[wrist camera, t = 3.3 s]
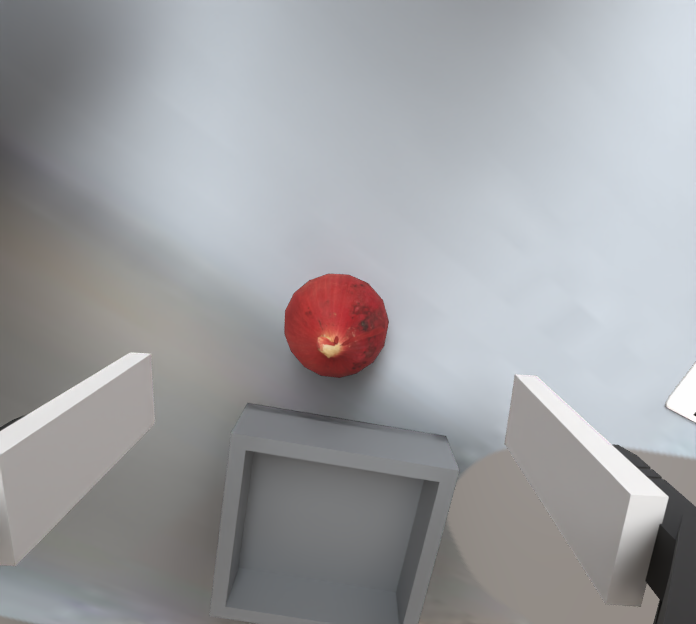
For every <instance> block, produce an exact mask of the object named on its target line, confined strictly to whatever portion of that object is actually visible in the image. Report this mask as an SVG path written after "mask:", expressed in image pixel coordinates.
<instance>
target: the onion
mask: <svg viewBox="0 0 696 624" xmlns="http://www.w3.org/2000/svg"><path fill="white" fill-rule="evenodd" d="M388 323H389V321H388V317H387V313H386V310H385V306H384V303H383V300H382V299H381V298H380V296H379V295H378V294H377V293H376V292H375V291H374V289H373V288H372V287H371V286H370V285H369V284H368V283H366V282H364V281H362V280H359V279H357V278H355V277H353V276H351V275H344V274H326V275H323V276H321V277H318V278H315V279H312V280H309V281H308V282H307V283H306V284H304V285H303V286H302V287H301V288H300V289H298V290H297V291H296V292H295V293H294V294H293V296H292V298H291V300H290V302H289V304H288V306H287V308H286V310H285V336H286V339H287V342H288V344H289V347H290V350H291V352H292V353H293V354H294V355H295V356H296V358H297V359H298V360H299V361H300V362H301V363H302V365H303V366H304V367H306V368H307V369H309V370H311V371H313V372H315V373H317V374H319V375H321V376H328V377H338V378H340V377H344V376H348V375H352V374H356V373H358V372H359V371H361V370H362V369H363V368H365V367H366V366H368V365H369V364H371V363H373V362H374V360H375V359H376V357H377V356H378V354H379V353H380V351H381V350H382V348H383V347H384V344H385V339H386V334H387V328H388Z"/></svg>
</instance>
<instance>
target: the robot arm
mask: <svg viewBox="0 0 696 624" xmlns="http://www.w3.org/2000/svg"><path fill="white" fill-rule="evenodd" d="M154 424H155V410H154V393H153V376H152V359H151V354H147V353H129V354H127V355H125V356H124V357H122V358H120V359H119V360H117V361H115V362H114V363H112V364H110V365H109V366H107V367H106V368H104V369H102V370H101V371H99V372H97V373H96V374H94V375H92V376H91V377H89V378H87V379H86V380H84V381H82V382H81V383H79V384H77V385H76V386H74V387H72V388H71V389H69V390H67V391H66V392H64V393H62V394H61V395H59V396H58V397H56V398H54V399H53V400H51V401H49V402H48V403H46V404H44V405H43V406H41V407H39V408H38V409H36V410H34V411H33V412H31V413H29V414H27V415H24V416H22V417H19V418H17V419H14V420H12V421H10V422H9V423H7V424H5V425H4V426H2V427H0V565H5V566H16V565H17V564H18V563H19V562H20V561H21V560H22V559H23V558H24V557H25V556H26V555H27V554H28V553H29V552H30V551H31V550H32V549H33V548H34V547H35V546H36V545H37V544H38V543H39V542H40V541H41V540H42V539H43V538H44V537H45V536H46V535H47V534H48V532H49V531H50V530H51V529H52V528H53V527H54V526H55V525H56V524H57V523H58V522H59V521H60V520H61V519H62V518H63V517H64V516H65V515H66V514H67V513H68V512H69V511H70V510H71V509H72V508H73V507H74V506H75V505H76V504H77V503H78V502H79V501H80V500H81V499H82V498H83V497H84V496H85V495H86V494H87V493H88V492H89V490H90V489H91V488H92V487H93V486H94V485H95V484H96V483H97V482H98V481H99V480H100V479H101V478H102V477H103V476H104V475H105V474H106V473H107V472H108V471H109V470H110V469H111V468H112V467H113V466H114V465H115V464H116V463H117V462H118V461H119V460H120V459H121V458H122V457H123V456H124V455H125V454H126V453H127V452H128V451H129V450H130V449H131V447H132V446H133V445H134V444H135V443H136V442H137V441H138V440H139V439H140V438H141V437H142V436H143V435H144V434H145V433H146V432H147V431H148V430H149V429H150V428H151V427H152V426H153V425H154ZM505 445H506V447H507V449H508V450H509V452H510V453H511V455H512V456H513V458H514V460H515V461H516V463H517V464H518V466H519V468H520V469H521V471H522V472H523V474H524V476H525V477H526V479H527V480H528V482H529V483H530V485H531V487H532V488H533V490H534V491H535V493H536V495H537V496H538V498H539V499H540V501H541V503H542V504H543V506H544V507H545V509H546V511H547V512H548V514H549V515H550V517H551V519H552V520H553V522H554V523H555V525H556V526H557V528H558V530H559V531H560V533H561V534H562V536H563V538H564V539H565V541H566V542H567V544H568V546H569V547H570V549H571V550H572V552H573V554H574V555H575V557H576V558H577V560H578V561H579V563H580V565H581V566H582V568H583V569H584V571H585V573H586V574H587V576H588V577H589V579H590V581H591V582H592V584H593V585H594V587H595V588H596V590H597V592H598V593H599V595H600V596H601V598H602V600H603V601H604V603H605V604H607V605H623V606H639V607H641V604H642V600H643V595H644V592H645V588H646V584H648V585H649V586H650V587H651V589H652V590H653V591H654V593H655V594H656V595H657V596H658V598H659V599H660V601H659V604H658V608H657V612H656V616H655V619H654V623H653V624H696V507H695V506H694V505H693V504H692V503H691V502H689V501H688V500H687V499H686V498H685V497H684V496H683V495H682V494H680V493H679V492H678V491H677V490H676V489H675V488H673V487H672V486H671V485H670V484H669V483H668V482H667V481H665V480H663V479H662V478H661V476H660V475H659V474H657V473H656V472H655V471H654V470H652V469H650V467H649V466H648V465H647V464H646V463H645V462H644V461H642V460H641V459H640V458H639V457H638V456H637V455H635V454H633V453H631V452H630V451H628V450H626V449H624V448H623V447H621V446H619V445H612V444H610V443H609V442H608V441H607V440H606V439H605V438H604V437H603V436H602V435H601V434H600V433H598V432H597V431H596V430H595V429H594V428H593V427H592V426H591V425H590V424H589V423H588V422H586V421H585V420H584V419H583V418H582V417H581V416H580V415H579V414H578V413H577V412H576V411H574V410H573V409H572V408H571V407H570V406H569V405H568V404H567V403H566V402H565V401H564V400H562V399H561V398H560V397H559V396H558V395H557V394H556V393H555V392H554V391H553V390H552V389H550V388H549V387H548V386H547V385H546V384H545V383H544V382H543V381H542V380H541V379H539V378H538V377H537V376H534V375H516V374H515V377H514V384H513V390H512V397H511V404H510V410H509V417H508V424H507V431H506V437H505Z"/></svg>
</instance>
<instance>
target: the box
mask: <svg viewBox="0 0 696 624" xmlns="http://www.w3.org/2000/svg"><path fill="white" fill-rule="evenodd" d="M458 475H459V468H458V465H457V463H456V460H455V458H454V455H453V453H452V450H451V448H450V445H449V443H448V440H447V438H446V436H442V435H436V434H430V433H424V432H418V431H412V430H406V429H400V428H394V427H388V426H382V425H376V424H370V423H364V422H358V421H352V420H346V419H340V418H334V417H328V416H322V415H316V414H310V413H304V412H299V411H293V410H287V409H281V408H275V407H269V406H263V405H257V404H251V403H247V405H246V407H245V409H244V410H243V412H242V414H241V416H240V418H239V419H238V421H237V423H236V425H235V427H234V428H233V430H232V432H231V437H230V445H229V454H228V462H227V471H226V479H225V487H224V496H223V504H222V513H221V521H220V530H219V538H218V546H217V555H216V563H215V572H214V580H213V589H212V597H211V606H210V614H209V616H212V617H218V618H225V619H231V620H237V621H244V622H250V623H257V624H418V623H419V619H420V615H421V612H422V608H423V604H424V601H425V597H426V593H427V590H428V586H429V582H430V578H431V575H432V571H433V567H434V564H435V560H436V556H437V552H438V549H439V545H440V541H441V538H442V534H443V530H444V527H445V523H446V519H447V515H448V512H449V508H450V504H451V501H452V497H453V493H454V489H455V486H456V482H457V478H458Z"/></svg>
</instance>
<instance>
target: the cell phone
mask: <svg viewBox="0 0 696 624" xmlns="http://www.w3.org/2000/svg"><path fill="white" fill-rule="evenodd" d="M665 406H666V407H667V408H669V409H670V410H672V411H674V412H676V413H678V414H680V415H682V416H684V417H686V418H687V419H689V420H691V421H693V422H695V423H696V362H695V363H694V364H693V365H692V367H691V368H690V369H689V371H688V372H687V373H686V375H685V376H684V377H683V378H682V380H681V381H680V382H679V384H678V385H677V386H676V388H675V389H674V390H673V391H672V393H671V394H670V395H669V397H668V398H667V400H666V402H665Z"/></svg>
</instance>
